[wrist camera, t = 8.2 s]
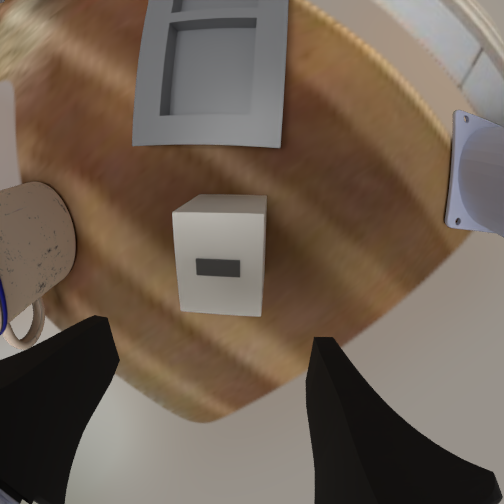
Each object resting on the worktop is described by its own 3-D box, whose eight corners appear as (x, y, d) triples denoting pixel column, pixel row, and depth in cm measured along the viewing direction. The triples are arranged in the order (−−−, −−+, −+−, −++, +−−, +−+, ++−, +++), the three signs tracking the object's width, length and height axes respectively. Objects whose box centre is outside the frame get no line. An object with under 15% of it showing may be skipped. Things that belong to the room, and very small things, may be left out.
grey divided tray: (288, -45, 11) (290, -71, 7) (279, 148, 16) (280, 148, 13) (175, -39, 11) (160, -61, 8) (150, 145, 16) (125, 146, 13)
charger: (266, 195, 17) (264, 214, 12) (264, 273, 18) (260, 317, 13) (199, 194, 17) (171, 212, 12) (202, 270, 19) (180, 311, 14)
